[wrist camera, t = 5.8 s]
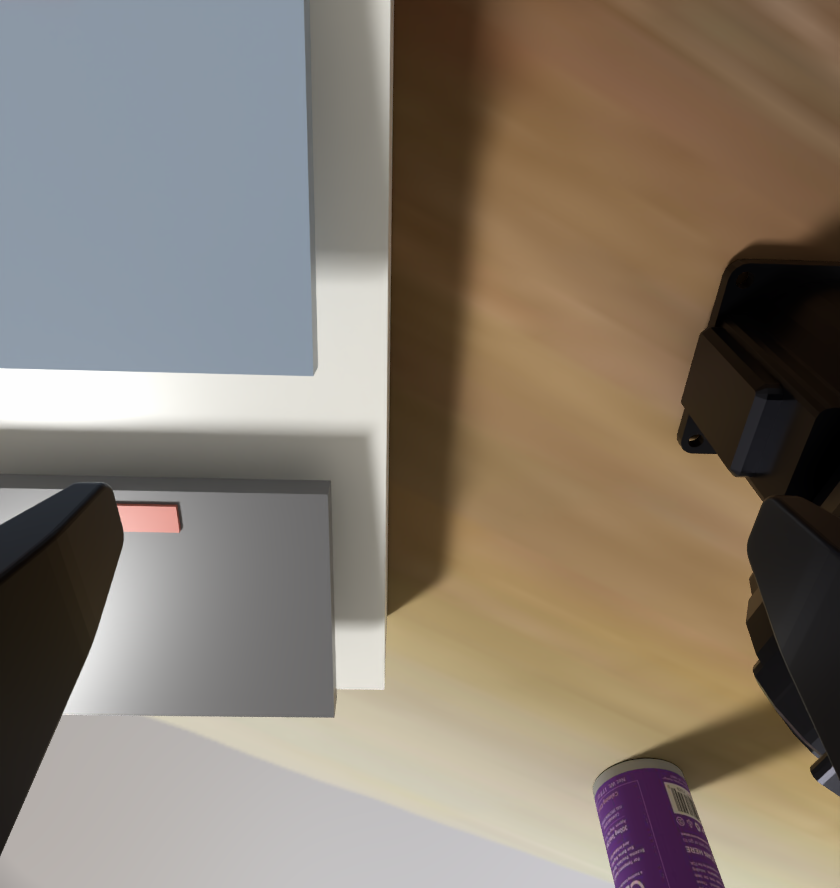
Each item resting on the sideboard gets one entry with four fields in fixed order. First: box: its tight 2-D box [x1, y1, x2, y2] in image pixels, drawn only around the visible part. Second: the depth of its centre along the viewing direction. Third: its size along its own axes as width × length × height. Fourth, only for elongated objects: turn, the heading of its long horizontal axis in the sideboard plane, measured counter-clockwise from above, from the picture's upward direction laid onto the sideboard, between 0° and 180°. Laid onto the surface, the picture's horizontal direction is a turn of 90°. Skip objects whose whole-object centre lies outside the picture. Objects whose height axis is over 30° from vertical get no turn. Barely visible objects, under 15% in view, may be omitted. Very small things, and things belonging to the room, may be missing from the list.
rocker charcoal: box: [0, 474, 337, 717], centre depth 20 cm, size 11×8×2 cm
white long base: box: [0, 0, 394, 690], centre depth 19 cm, size 14×25×4 cm, turn 178°
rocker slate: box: [0, 0, 318, 376], centre depth 13 cm, size 11×8×2 cm
